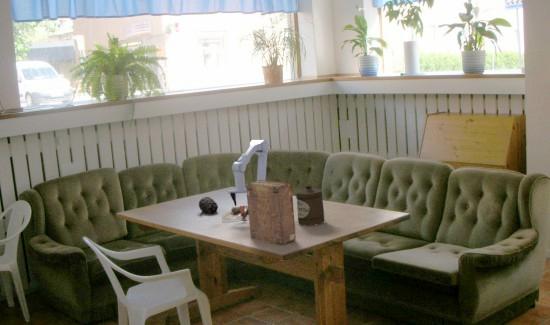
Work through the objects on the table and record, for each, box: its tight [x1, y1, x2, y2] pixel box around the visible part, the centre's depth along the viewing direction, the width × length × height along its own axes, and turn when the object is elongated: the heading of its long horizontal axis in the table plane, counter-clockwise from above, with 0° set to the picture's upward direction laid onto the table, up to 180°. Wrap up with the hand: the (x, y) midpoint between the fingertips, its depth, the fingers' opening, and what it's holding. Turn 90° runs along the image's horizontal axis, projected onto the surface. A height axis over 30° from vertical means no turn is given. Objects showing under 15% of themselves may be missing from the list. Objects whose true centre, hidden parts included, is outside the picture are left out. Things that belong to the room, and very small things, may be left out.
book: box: [245, 179, 297, 245], centre depth 375 cm, size 25×9×30 cm, turn 42°
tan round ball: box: [230, 206, 238, 214], centre depth 441 cm, size 4×4×4 cm
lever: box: [239, 204, 248, 216], centre depth 435 cm, size 18×4×6 cm, turn 175°
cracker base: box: [221, 205, 249, 223], centre depth 436 cm, size 20×24×4 cm
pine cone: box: [198, 196, 219, 215], centre depth 452 cm, size 10×18×10 cm, turn 31°
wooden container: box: [295, 183, 326, 226], centre depth 405 cm, size 15×15×22 cm
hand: (242, 205), depth 427 cm, fingers open, 7 cm apart
